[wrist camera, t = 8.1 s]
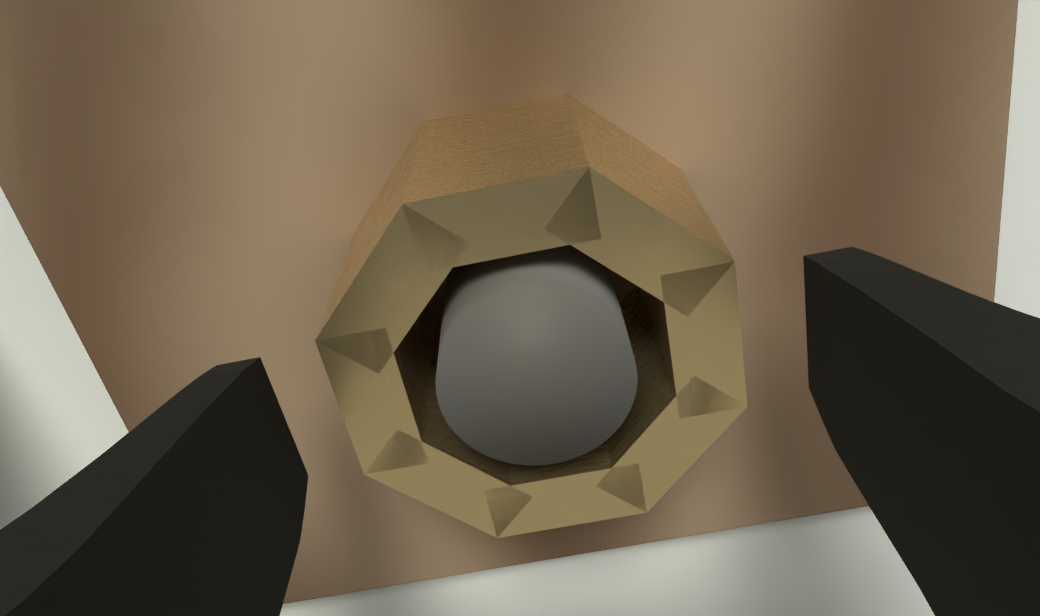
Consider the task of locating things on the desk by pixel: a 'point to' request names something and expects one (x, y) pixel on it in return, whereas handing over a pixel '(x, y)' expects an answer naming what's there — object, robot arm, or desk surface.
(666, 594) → the desk surface
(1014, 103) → the desk surface
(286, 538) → the robot arm
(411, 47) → the post board
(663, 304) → the wooden ring
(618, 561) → the desk surface
